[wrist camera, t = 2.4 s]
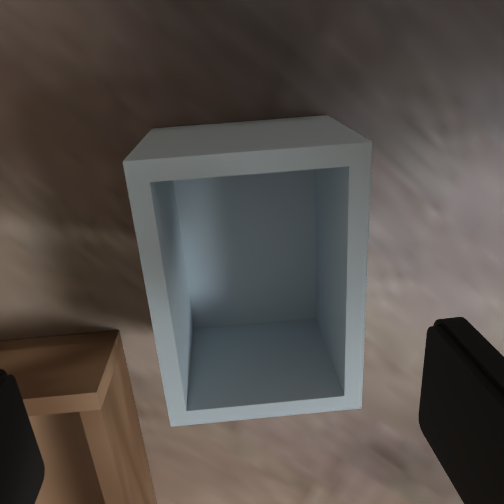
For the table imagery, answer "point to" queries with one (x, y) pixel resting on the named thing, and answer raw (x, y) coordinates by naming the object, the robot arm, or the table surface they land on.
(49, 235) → the table surface
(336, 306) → the bluegrey crate
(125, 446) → the walnut crate
